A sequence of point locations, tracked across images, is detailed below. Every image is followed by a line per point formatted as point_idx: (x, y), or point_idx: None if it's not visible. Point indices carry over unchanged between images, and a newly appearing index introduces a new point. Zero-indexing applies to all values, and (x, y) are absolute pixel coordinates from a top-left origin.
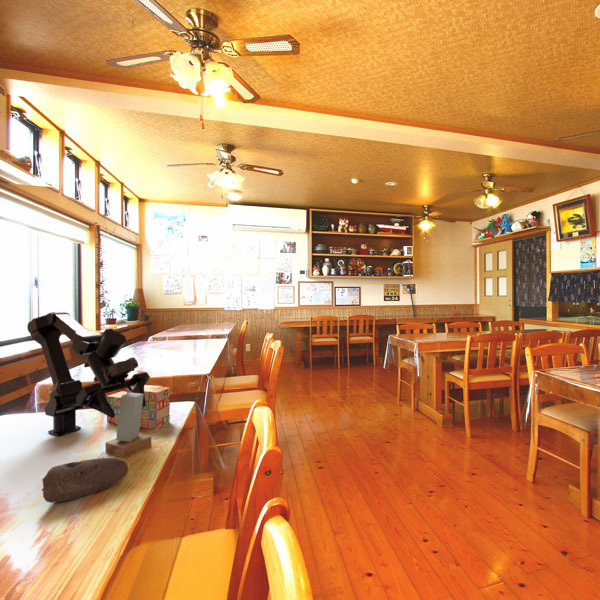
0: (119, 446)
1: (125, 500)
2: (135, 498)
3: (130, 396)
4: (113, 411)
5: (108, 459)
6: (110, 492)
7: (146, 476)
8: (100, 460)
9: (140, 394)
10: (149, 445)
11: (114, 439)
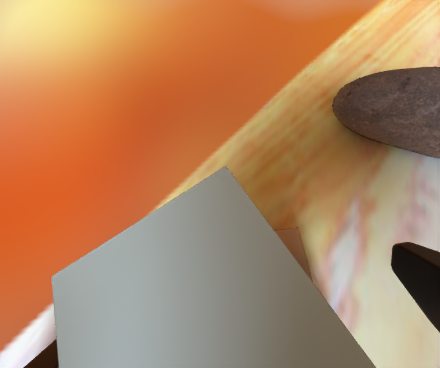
0: (304, 257)
1: (349, 69)
2: (334, 64)
3: (260, 240)
4: (432, 261)
5: (406, 70)
6: None
7: (290, 108)
8: (434, 69)
9: (97, 266)
10: None
11: None
